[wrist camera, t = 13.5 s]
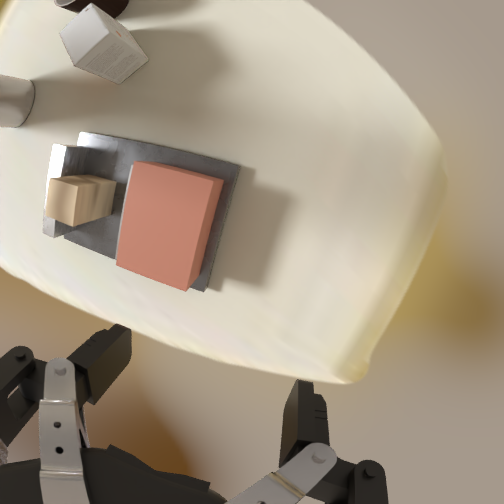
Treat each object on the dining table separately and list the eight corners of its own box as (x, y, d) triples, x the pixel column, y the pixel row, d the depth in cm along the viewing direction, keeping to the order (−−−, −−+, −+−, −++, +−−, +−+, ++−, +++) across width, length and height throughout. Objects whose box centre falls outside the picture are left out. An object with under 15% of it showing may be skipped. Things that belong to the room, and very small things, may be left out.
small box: (100, 54, 29) (57, 32, 19) (129, 29, 28) (90, 1, 18) (119, 86, 31) (72, 67, 20) (150, 60, 29) (110, 31, 19)
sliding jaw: (133, 252, 35) (113, 264, 30) (151, 161, 31) (131, 160, 27) (198, 275, 35) (186, 291, 30) (224, 179, 31) (213, 181, 26)
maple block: (83, 205, 34) (45, 215, 26) (89, 174, 33) (49, 177, 25) (110, 215, 34) (72, 226, 26) (116, 181, 33) (77, 186, 25)
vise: (69, 236, 37) (42, 246, 31) (86, 132, 33) (57, 129, 26) (206, 287, 37) (192, 309, 30) (240, 166, 32) (230, 164, 26)
